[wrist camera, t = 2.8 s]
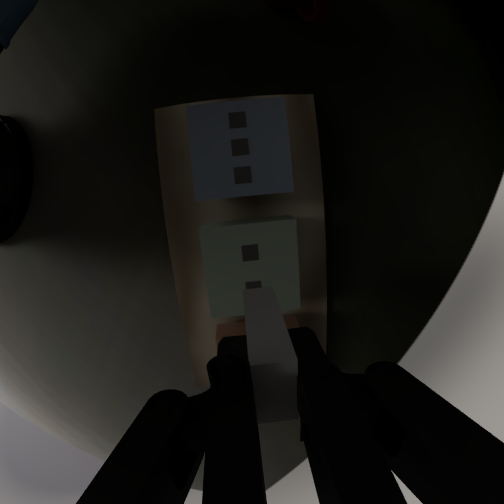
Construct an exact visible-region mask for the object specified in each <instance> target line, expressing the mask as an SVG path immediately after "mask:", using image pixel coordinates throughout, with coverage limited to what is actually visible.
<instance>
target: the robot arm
mask: <svg viewBox="0 0 504 504" xmlns="http://www.w3.org/2000/svg"><path fill="white" fill-rule="evenodd" d="M37 2H38V0H0V53H1V52H2V51H3V49H4V48H5V49H7V48H8V46H9V45H10V40H11V39H12V37H13V36H14V34H15V33H16V32H17V30H18V29H19V27H20V26H21V25H22V23H23V22H24V21H25V19H26V18H27V17H28V16H29V14H30V13H31V12H32V11H33V9H34V8H35V6H36V4H37ZM32 182H33V160H32V152H31V147H30V143H29V140H28V138H27V135H26V133H25V131H24V129H23V128H22V126H21V125H20V124H19V123H18V122H17V121H16V120H15V119H13V118H11V117H8V116H3V115H0V242H3V241H5V240H7V239H8V238H10V237H11V236H12V235H13V234H14V233H15V232H16V230H17V229H18V227H19V226H20V224H21V222H22V220H23V218H24V216H25V214H26V211H27V208H28V205H29V201H30V196H31V191H32ZM243 298H244V311H245V324H246V335H238V336H228V337H223V338H222V339H221V340H220V342H219V343H218V348H217V356H215V357H213V358H212V359H211V360H209V361H208V363H207V365H206V368H207V373H208V377H209V382H210V386H211V387H210V389H208V390H207V391H205V392H204V393H201V394H198V395H195V396H191V397H187V395H186V394H184V393H183V392H182V391H179V390H170V389H168V390H163V391H160V392H158V393H156V394H154V395H153V396H152V397H151V398H150V399H149V400H148V401H147V403H146V404H145V406H144V407H143V408H142V410H141V411H140V413H139V414H138V416H137V417H136V418H135V420H134V421H133V423H132V424H131V426H130V427H129V428H128V430H127V431H126V433H125V434H124V436H123V437H122V438H121V440H120V441H119V443H118V444H117V446H116V447H115V449H114V450H113V451H112V453H111V454H110V456H109V457H108V459H107V460H106V461H105V463H104V464H103V466H102V467H101V469H100V470H99V471H98V473H97V474H96V476H95V477H94V479H93V480H92V482H91V483H90V484H89V486H88V487H87V489H86V490H85V491H84V493H83V494H82V496H81V497H80V499H79V500H78V501H77V503H76V504H184V502H185V500H186V497H187V495H188V492H189V490H190V488H191V485H192V483H193V481H194V478H195V476H196V473H197V471H198V469H199V466H200V464H201V461H202V459H203V456H204V452H205V464H204V479H203V496H202V504H267V500H266V492H265V483H264V475H263V466H262V458H261V449H260V440H259V432H258V424H260V423H269V422H277V421H284V420H291V419H297V418H298V411H299V415H300V419H301V429H300V442H301V441H303V440H304V444H305V448H306V452H307V456H308V460H309V464H310V467H311V472H312V475H313V479H314V484H315V487H316V491H317V495H318V499H319V503H320V504H407V502H406V500H405V498H404V496H403V494H402V492H401V490H400V487H399V485H398V483H397V481H396V479H395V477H394V475H393V473H392V472H391V470H392V471H393V472H394V473H395V474H396V476H397V477H398V478H399V479H400V480H401V481H402V482H403V483H404V484H405V485H406V486H407V487H408V488H409V490H411V492H412V493H413V494H414V495H415V496H416V497H417V498H418V499H419V500H420V501H421V502H422V503H423V504H504V443H503V442H502V441H500V440H499V439H498V438H496V437H495V436H493V435H492V434H491V433H490V432H488V431H487V430H485V429H484V428H483V427H481V426H480V425H479V424H477V423H476V422H474V421H473V420H472V419H471V418H469V417H468V416H467V415H465V414H464V413H463V412H461V411H460V410H459V409H457V408H456V407H454V406H453V405H452V404H450V403H449V402H448V401H446V400H445V399H444V398H442V397H441V396H440V395H438V394H437V393H435V392H434V391H433V390H431V389H430V388H429V387H428V386H426V385H425V384H424V383H422V382H421V381H419V380H418V379H417V378H415V377H414V376H413V375H411V374H410V373H409V372H407V371H406V370H405V369H403V368H402V367H401V366H399V365H397V364H395V363H393V362H388V361H379V362H376V363H373V364H371V365H369V366H368V367H367V369H366V370H365V374H347V373H342V372H341V370H340V369H339V368H338V367H337V366H336V365H334V364H332V363H330V362H329V360H328V358H327V356H326V354H325V352H324V350H323V348H322V346H321V345H320V342H319V340H318V339H317V336H316V334H315V332H314V331H313V330H311V329H310V328H308V327H307V326H306V327H298V328H291V329H287V327H286V324H285V321H284V319H283V316H282V313H281V310H280V307H279V304H278V301H277V298H276V295H275V293H274V290H273V287H263V288H254V289H244V290H243Z"/></svg>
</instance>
